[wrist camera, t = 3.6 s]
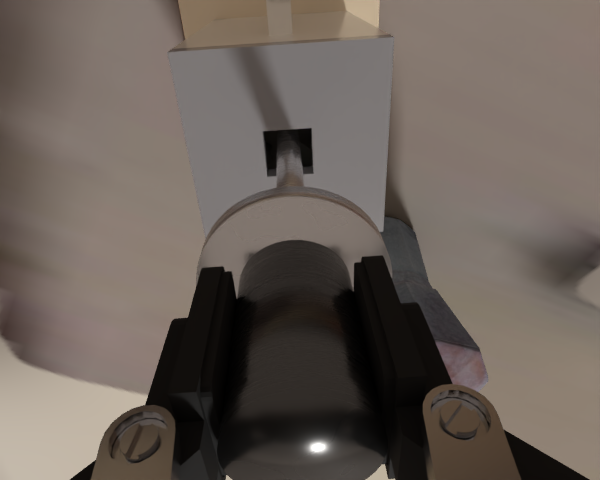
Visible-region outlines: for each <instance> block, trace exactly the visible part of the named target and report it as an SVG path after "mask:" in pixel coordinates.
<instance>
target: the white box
mask: <svg viewBox="0 0 600 480" xmlns="http://www.w3.org/2000/svg"><path fill="white" fill-rule="evenodd" d="M379 1H380V0H178V3H179V8H180V14H181V19H182V25H183V30H184V36H185V40H184V41H183V42H181V43H180V44H178V45H177V46H176V47H174V48H173V49H171V50H170V51H168V52H167V53H168V58H169V63H170V68H171V73H172V78H173V82H174V87H175V92H176V97H177V102H178V107H179V112H180V117H181V121H182V126H183V131H184V136H185V141H186V146H187V151H188V155H189V160H190V165H191V170H192V175H193V180H194V185H195V190H196V194H197V199H198V204H199V209H200V214H201V219H202V224H203V229H204V233H205V238H206V237H207V235H208V233H209V232H210V230H211V228H212V226H213V225H214V224H215V222H216V221H217V220H218V219H219V217H220V216H222V215H223V214H224V213H225V212H226V211H227V210H228V209H229V208H231V207H232V206H233V205H235V204H236V203H237V202H239V201H241V200H243V199H245V198H246V197H248V196H251V195H253V194H256V193H258V192H261V191H265V190H269V189H272V188H276V171H277V169H268V167H267V157H266V147H265V138H264V131H274V130H289V129H304V128H311V147H312V166H309V167H302V168H303V176H304V185H305V187H313V188H318V189H322V190H327V191H330V192H332V193H335V194H338V195H340V196H342V197H344V198H346V199H348V200H350V201H351V202H353V203H354V204H356V205H357V206H358V207H360V208H361V209H362V210H363V211H364V212H365V213H366V214H367V215H368V216H369V217H370V218H371V219H372V221H373V222H374V223H375V225H376V226H377V228H378V230H379V232H383V227H384V209H385V192H386V174H387V157H388V139H389V121H390V104H391V86H392V68H393V51H394V37H393V36H391V35H390V34H388V33H386V32H384V31H382V30H381V29H379V28H378V27H379Z"/></svg>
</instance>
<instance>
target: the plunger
mask: <svg viewBox="0 0 600 480" xmlns="http://www.w3.org/2000/svg"><path fill="white" fill-rule="evenodd" d="M264 138H265V147H266V157H267V167H268V169H277V171H276V188H272V189H269V190H265V191H261V192H258V193H256V194H253V195H251V196H248V197H246V198H245V199H243V200H241V201H239V202H237V203H236V204H235V205H233V206H232V207H231V208H229V209H228V210H227V211H226V212H225V213H224V214H223V215H222V216H220V217H219V219H218V220H217V221H216V222H215V224H214V225H213V226H212V228H211V230H210V232H209V233H208V235H207V237H206V240H205V243H204V245H203V248H202V252H201V255H200V259H199V263H198V268H197V274H196V285H197V282H198V279H199V275H200V271H201V269H202V268H204V267H219V266H223V267H224V269H225V271H231V272H232V275H233V280H234V286H235V292H236V298H237V302H236V310H235V317H234V325H233V332H232V340H231V347H230V355H229V362H228V370H227V377H226V385H225V392H224V400H223V407H222V415H221V422H220V430H219V437H218V445H217V457H218V461H219V463H220V466H221V467H222V469H223V470H224V472H225V473H226V474H227V475H228V476H229V477H230V478H231V479H233V480H365V479H367V478H368V477H370V475H372V474H373V473H374V472H375V471H376V470H377V469H378V468H379V467H380V466H381V464H382V463H383V461H384V459H385V457H386V454H387V450H388V439H387V434H386V430H385V426H384V421H383V417H382V413H381V409H380V404H379V400H378V396H377V391H376V387H375V383H374V378H373V374H372V370H371V365H370V361H369V357H368V352H367V348H366V344H365V339H364V335H363V331H362V326H361V322H360V318H359V313H358V309H357V305H356V300H355V296H354V263H356V262H361V258H362V257H365V256H380V255H382V256H383V257H384V259H385V262H386V264H387V267H388V270H389V272H390V275H391V278H392V266H391V260H390V257H389V254H388V251H387V249H386V246H385V244H384V241H383V238H382V236H381V234H380V232H379V230H378V228H377V226H376V225H375V223H374V222H373V221H372V219H371V218H370V217H369V216H368V215H367V214H366V213H365V212H364V211H363V210H362V209H361V208H360V207H358V206H357V205H356V204H354V203H353V202H351V201H350V200H348V199H346V198H344V197H342V196H340V195H338V194H335V193H332V192H330V191H327V190H322V189H318V188H313V187H305V185H304V176H303V168H302V167H309V166H312V147H311V128H304V129H289V130H274V131H264Z"/></svg>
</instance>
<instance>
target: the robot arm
mask: <svg viewBox="0 0 600 480" xmlns="http://www.w3.org/2000/svg"><path fill="white" fill-rule="evenodd" d="M354 296H355V300H356V305H357V309H358V313H359V318H360V322H361V326H362V331H363V335H364V339H365V344H366V348H367V352H368V357H369V361H370V365H371V370H372V374H373V378H374V383H375V387H376V391H377V396H378V400H379V404H380V409H381V413H382V417H383V421H384V426H385V430H386V434H387V439H388V450H387V454H386V457H385V459H384V461H383V463H382V464H385V466H386V471H387V475H388V479H393V478H395V479H396V480H589V479H588V478H586V477H584V476H582V475H581V474H579V473H577V472H576V471H574V470H572V469H570V468H569V467H567V466H565V465H563V464H562V463H560V462H558V461H557V460H555V459H553V458H551V457H550V456H548V455H546V454H545V453H543V452H541V451H539V450H538V449H536V448H534V447H533V446H531V445H529V444H527V443H526V442H524V441H522V440H521V439H519V438H517V437H515V436H514V435H512V434H510V433H509V432H507V431H505V430H503V427H502V424H501V421H500V418H499V416H498V414H497V412H496V410H495V408H494V406H493V405H492V404H491V403H490V402H489V401H488V400H487V398H486V397H485V396H483V395H482V394H480V393H479V392H477V391H475V390H474V389H471V388H468V387H466V386H463V385H456V384H453V383H452V381H451V378H450V376H449V374H448V371H447V369H446V366H445V364H444V362H443V359H442V357H441V355H440V352H439V350H438V347H437V345H436V343H435V340H434V338H433V335H432V333H431V331H430V328H429V326H428V324H427V321H426V319H425V316H424V314H423V312H422V309H421V307H420V305H419V304H418V303H417V302H411V303H400V300H399V297H398V294H397V292H396V289H395V286H394V283H393V281H392V278H391V275H390V272H389V270H388V267H387V264H386V262H385V259H384V257H383V256H382V255H380V256H365V257H362V258H361V262H356V263H354ZM236 302H237V298H236V292H235V286H234V280H233V275H232V272H231V271H225V269H224V267H223V266H219V267H204V268H202V269H201V271H200V275H199V279H198V282H197V286H196V290H195V294H194V297H193V301H192V305H191V308H190V312H189V316H188V318H179V319H174V320H173V321H172V322H171V325H170V328H169V331H168V334H167V337H166V340H165V344H164V347H163V350H162V353H161V356H160V360H159V363H158V366H157V369H156V372H155V376H154V379H153V382H152V385H151V388H150V392H149V395H148V398H147V401H146V404H145V405H143V406H140V407H136V408H133V409H131V410H129V411H127V412H125V413H124V414H122V415H121V416H120V417H118V418H117V419H116V420H115V421H114V422H112V424H111V425H110V426H109V428H108V429H107V430H106V432H105V433H104V436H103V438H102V441H101V443H100V446H99V450H98V454H97V458H96V460H95V461H94V462H92V463H91V464H90V465H88V466H87V467H86V468H84V469H83V470H82V471H81V472H79V473H78V474H77V475H75V476H74V477H73V478H71V479H70V480H225V479H226V475H227V474H226V473H225V472H224V470H223V469H222V467H221V466H220V463H219V461H218V457H217V445H218V437H219V430H220V422H221V415H222V407H223V400H224V392H225V385H226V377H227V370H228V362H229V355H230V347H231V340H232V332H233V325H234V317H235V310H236Z"/></svg>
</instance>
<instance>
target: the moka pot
mask: <svg viewBox="0 0 600 480" xmlns="http://www.w3.org/2000/svg"><path fill="white" fill-rule="evenodd" d="M380 234H381V236H382V238H383V241H384V244H385V246H386V249H387V251H388V254H389V257H390V260H391V266H392V281H393V283H394V286H395V289H396V292H397V294H398V297H399V300H400V303H411V302H417V303H418V304H419V305H420V307H421V309H422V312H423V314H424V316H425V319H426V321H427V324H428V326H429V328H430V331H431V333H432V335H433V338H434V340H435V343H436V345H437V347H438V350H439V352H440V355H441V357H442V359H443V362H444V364H445V366H446V369H447V371H448V374H449V376H450V378H451V381H452V383H453V384H456V385H463V386H466V387H468V388H471V389H474V390H475V391H477V392H479V391H480V390H481V389H482V387H483V386H484V385H485V384H486V383H487V382H488V375H487V372H486V368H485V365H484V362H483V359H482V355H481V352H480V349H479V347H478V346H477V344H476V343H475V342H474V340H473V339H472V338H471V336H470V335H469V334H468V332H467V331H466V330H465V328H464V327H463V326H462V324H461V323H460V322H459V320H458V319H457V317H456V316H455V315H454V313H453V312H452V311H451V309H450V308H449V307H448V305H447V304H446V302H445V301H444V300H443V298H442V297H441V296H440V294H439V293H438V291H437V290H436V289H433V288H432V287H431V285H430V283H429V282H428V277H427V273H426V270H425V266H424V263H423V259H422V256H421V252H420V248H419V245H418V241H417V238H416V234H415V232H414V231H413V230H412V229H411V228H410V227H409V226H407V225H406V224H405V223H404V222H402V221H401V220H399V219H395V218H391V217H384V227H383V232H380Z"/></svg>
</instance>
